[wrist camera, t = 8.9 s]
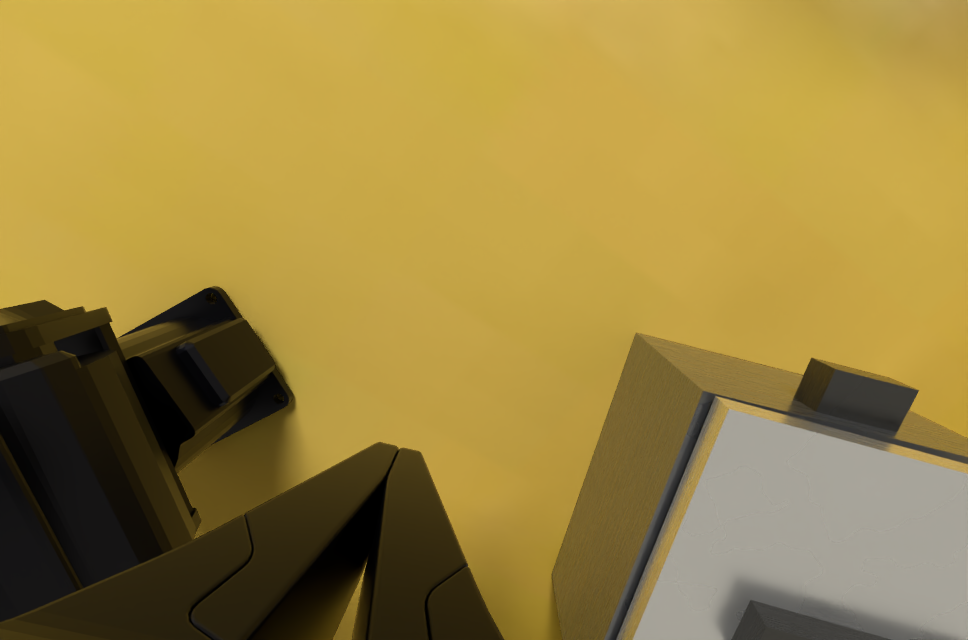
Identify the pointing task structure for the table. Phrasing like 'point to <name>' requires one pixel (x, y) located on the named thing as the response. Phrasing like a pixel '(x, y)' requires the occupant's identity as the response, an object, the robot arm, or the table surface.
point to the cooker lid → (806, 538)
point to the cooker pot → (668, 447)
